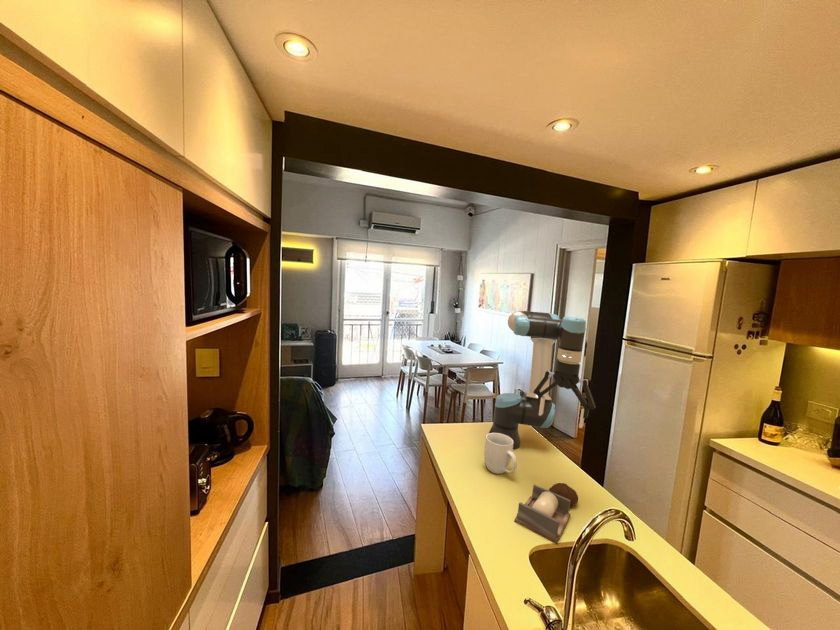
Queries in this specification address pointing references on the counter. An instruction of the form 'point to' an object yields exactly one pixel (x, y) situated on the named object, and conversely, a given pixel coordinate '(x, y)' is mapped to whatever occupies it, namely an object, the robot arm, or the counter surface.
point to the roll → (546, 503)
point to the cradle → (544, 516)
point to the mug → (499, 453)
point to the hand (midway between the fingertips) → (560, 420)
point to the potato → (565, 492)
